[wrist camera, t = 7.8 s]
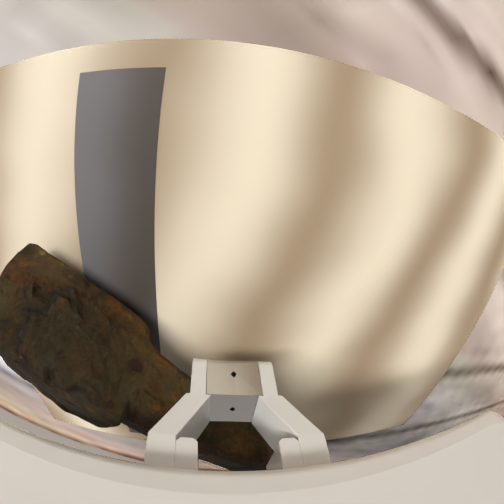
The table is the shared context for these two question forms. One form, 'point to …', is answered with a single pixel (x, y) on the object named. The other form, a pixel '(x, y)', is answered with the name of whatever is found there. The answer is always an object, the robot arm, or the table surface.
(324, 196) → the sheet
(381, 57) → the table surface
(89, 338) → the hand tool
